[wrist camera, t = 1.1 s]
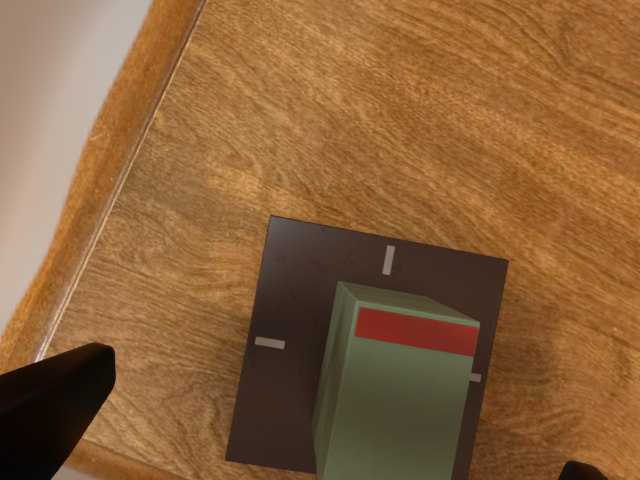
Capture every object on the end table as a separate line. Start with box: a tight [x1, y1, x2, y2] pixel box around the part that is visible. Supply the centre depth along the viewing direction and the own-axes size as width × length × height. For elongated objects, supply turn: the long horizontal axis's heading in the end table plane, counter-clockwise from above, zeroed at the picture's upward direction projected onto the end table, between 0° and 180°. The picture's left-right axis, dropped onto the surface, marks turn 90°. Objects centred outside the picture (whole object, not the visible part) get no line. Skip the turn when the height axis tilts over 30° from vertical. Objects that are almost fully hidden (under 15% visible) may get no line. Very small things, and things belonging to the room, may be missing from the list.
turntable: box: [225, 215, 509, 480], centre depth 22 cm, size 12×12×2 cm
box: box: [312, 281, 480, 480], centre depth 18 cm, size 7×4×6 cm, turn 169°
